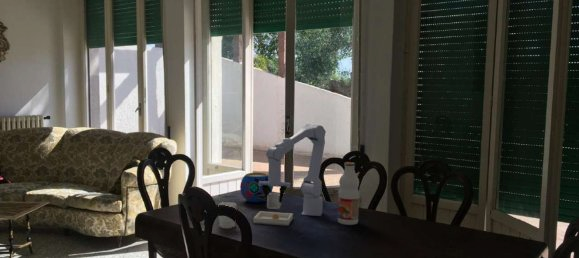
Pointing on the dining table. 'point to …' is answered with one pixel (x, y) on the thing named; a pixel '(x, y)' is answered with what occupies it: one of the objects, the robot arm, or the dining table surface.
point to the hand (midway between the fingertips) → (274, 201)
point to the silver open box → (273, 201)
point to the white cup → (226, 221)
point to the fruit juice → (348, 196)
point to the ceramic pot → (254, 187)
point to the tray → (267, 219)
